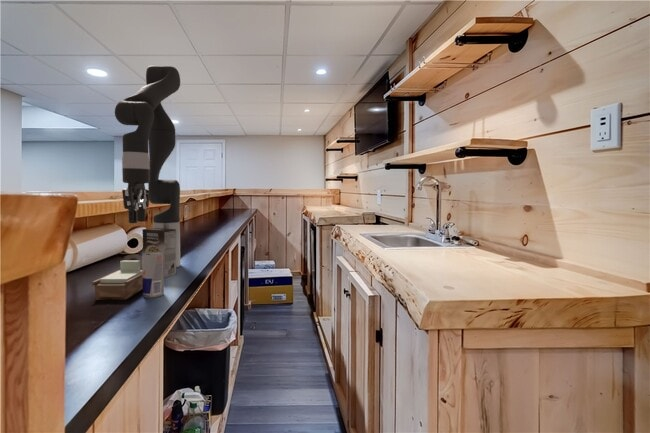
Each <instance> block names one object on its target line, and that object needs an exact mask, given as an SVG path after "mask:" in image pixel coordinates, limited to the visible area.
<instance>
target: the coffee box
mask: <svg viewBox="0 0 650 433" xmlns="http://www.w3.org/2000/svg"><path fill="white" fill-rule="evenodd" d="M146 252H162V254H163V274H164V278H167V277H170V276H174V275H177V267H176V229H165V228H153V227H152V228H142V254H143V253H146Z"/></svg>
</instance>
